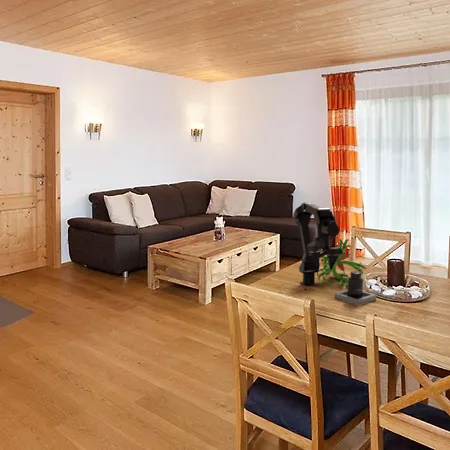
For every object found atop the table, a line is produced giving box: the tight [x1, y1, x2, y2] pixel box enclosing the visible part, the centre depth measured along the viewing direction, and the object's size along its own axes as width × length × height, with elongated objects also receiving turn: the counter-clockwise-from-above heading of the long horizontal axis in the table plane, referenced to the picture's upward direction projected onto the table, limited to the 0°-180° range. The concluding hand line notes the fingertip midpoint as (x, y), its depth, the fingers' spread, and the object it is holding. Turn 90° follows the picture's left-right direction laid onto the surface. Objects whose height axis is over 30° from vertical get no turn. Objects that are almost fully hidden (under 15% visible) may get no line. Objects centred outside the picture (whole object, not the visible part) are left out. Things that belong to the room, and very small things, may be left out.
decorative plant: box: [316, 238, 367, 286], centre depth 232 cm, size 26×25×30 cm
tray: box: [334, 289, 377, 306], centre depth 206 cm, size 13×13×2 cm
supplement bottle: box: [346, 270, 364, 299], centre depth 205 cm, size 7×7×12 cm
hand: (323, 268), depth 210 cm, fingers open, 9 cm apart
